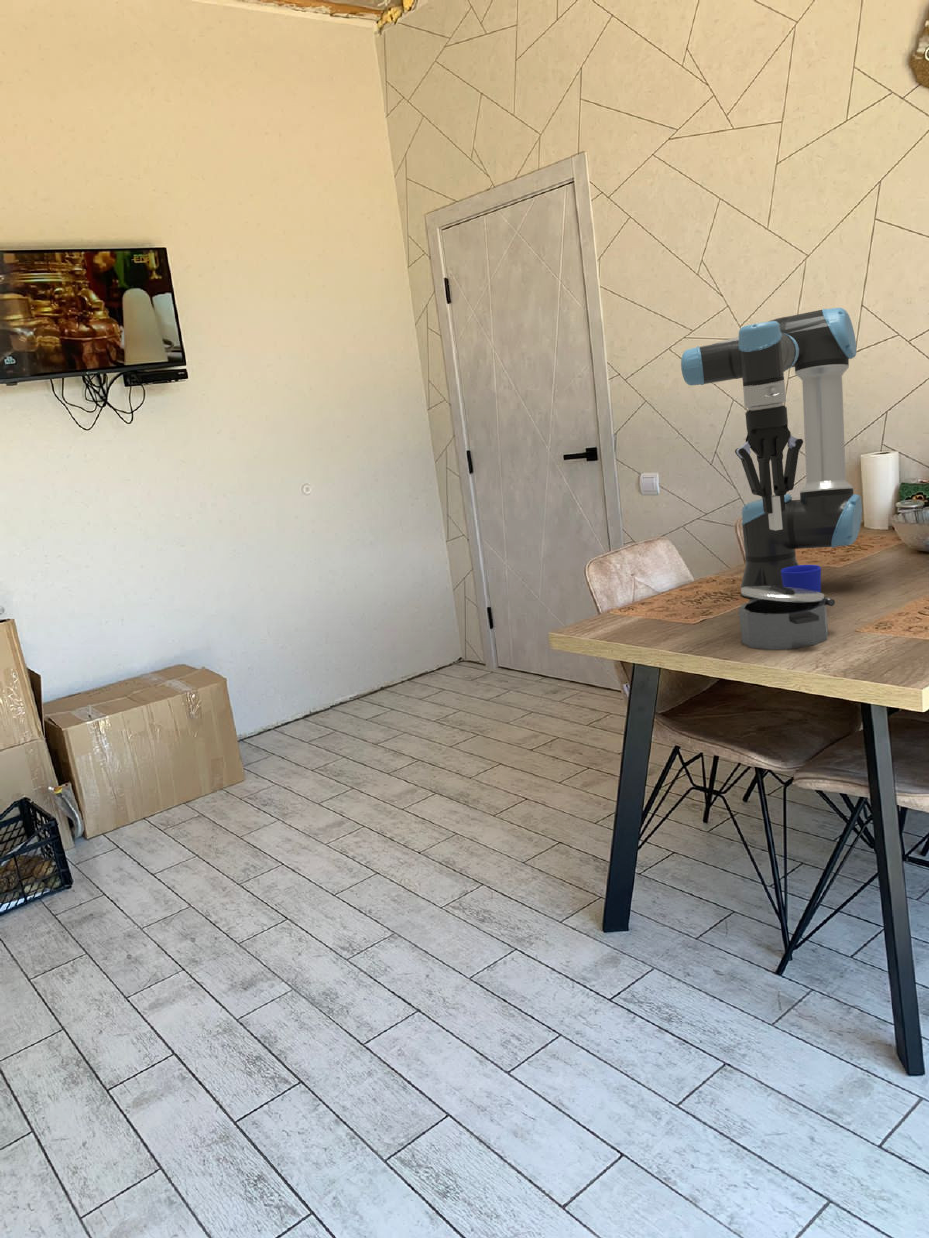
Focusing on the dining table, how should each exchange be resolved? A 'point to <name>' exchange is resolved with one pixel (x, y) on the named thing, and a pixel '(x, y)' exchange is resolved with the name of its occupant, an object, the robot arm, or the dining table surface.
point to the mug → (802, 577)
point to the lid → (782, 593)
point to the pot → (783, 623)
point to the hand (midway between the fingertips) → (776, 529)
